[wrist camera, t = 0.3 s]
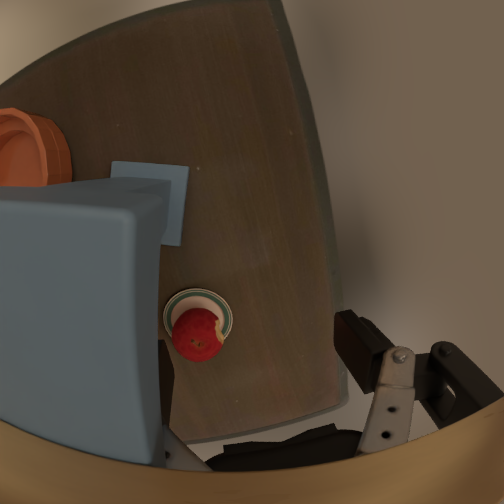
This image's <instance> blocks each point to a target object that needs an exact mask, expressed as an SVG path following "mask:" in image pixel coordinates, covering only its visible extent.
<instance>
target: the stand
mask: <svg viewBox="0 0 504 504" xmlns="http://www.w3.org/2000/svg"><path fill="white" fill-rule="evenodd" d="M189 170H190V167H187V166H177V165H166V164H154V163H140V162H124V161H112V167H111V176H110V178H103V179H93V180H85V181H76V182H69V183H61V184H54V185H47V186H41V187H22V186H0V420H2V421H4V422H6V423H8V424H10V425H12V426H14V427H17V428H19V429H21V430H23V431H26V432H28V433H30V434H33V435H35V436H38V437H40V438H43V439H46V440H48V441H51V442H54V443H57V444H60V445H63V446H66V447H69V448H72V449H75V450H78V451H82V452H85V453H89V454H93V455H97V456H101V457H105V458H109V459H114V460H118V461H123V462H128V463H134V464H140V465H146V466H153V467H160V468H167V464H166V457H165V448H164V439H163V430H162V419H161V406H160V390H159V369H158V283H159V261H160V245H161V244H162V245H171V246H180V244H181V240H182V230H183V220H184V211H185V202H186V194H187V186H188V178H189Z"/></svg>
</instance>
